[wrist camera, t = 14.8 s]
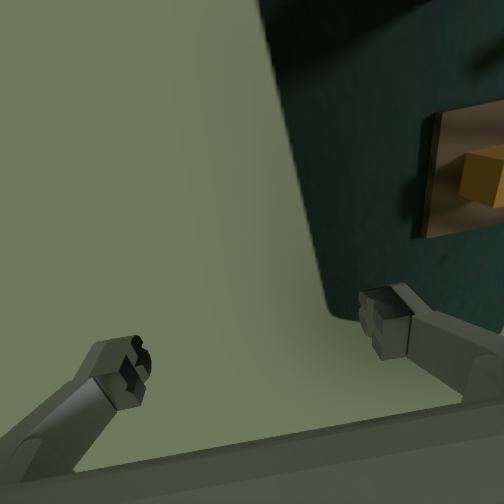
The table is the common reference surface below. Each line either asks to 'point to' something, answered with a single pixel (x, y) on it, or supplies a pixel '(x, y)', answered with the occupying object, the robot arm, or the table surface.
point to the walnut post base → (459, 168)
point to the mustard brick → (484, 176)
